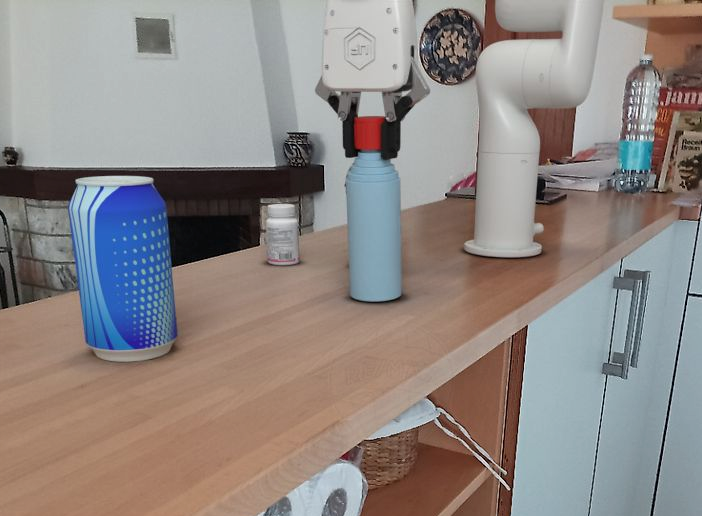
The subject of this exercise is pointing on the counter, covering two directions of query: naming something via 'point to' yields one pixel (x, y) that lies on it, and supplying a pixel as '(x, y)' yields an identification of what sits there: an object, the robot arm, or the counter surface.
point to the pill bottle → (282, 235)
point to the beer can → (123, 267)
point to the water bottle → (374, 228)
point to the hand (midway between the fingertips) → (371, 156)
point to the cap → (368, 132)
